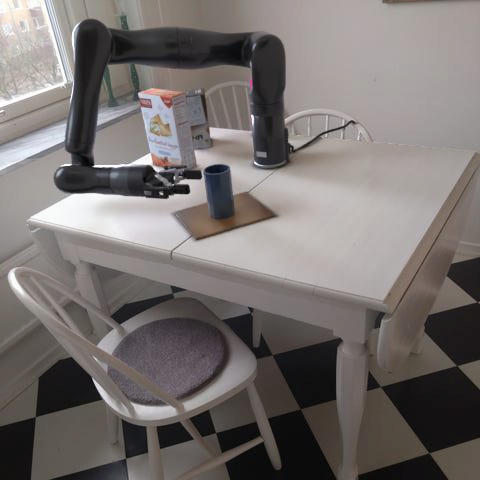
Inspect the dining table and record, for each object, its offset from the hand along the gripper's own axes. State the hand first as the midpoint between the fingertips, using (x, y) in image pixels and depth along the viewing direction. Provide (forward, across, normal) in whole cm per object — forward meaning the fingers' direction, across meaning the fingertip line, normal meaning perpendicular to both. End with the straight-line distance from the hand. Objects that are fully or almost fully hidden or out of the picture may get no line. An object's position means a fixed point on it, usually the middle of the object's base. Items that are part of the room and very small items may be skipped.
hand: (195, 181), depth 116 cm
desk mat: (+6, 0, +8) cm, 10 cm away
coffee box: (-17, +50, +8) cm, 54 cm away
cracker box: (-19, +31, +8) cm, 38 cm away
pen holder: (+6, 0, +8) cm, 10 cm away
